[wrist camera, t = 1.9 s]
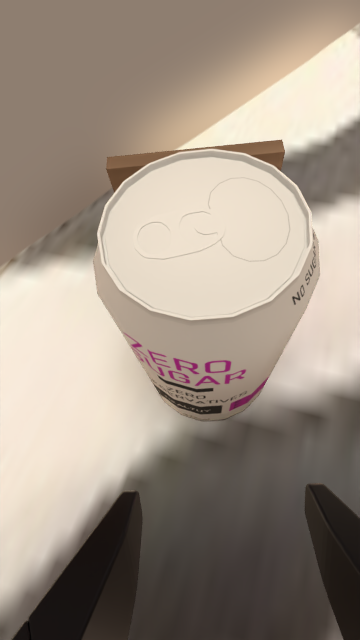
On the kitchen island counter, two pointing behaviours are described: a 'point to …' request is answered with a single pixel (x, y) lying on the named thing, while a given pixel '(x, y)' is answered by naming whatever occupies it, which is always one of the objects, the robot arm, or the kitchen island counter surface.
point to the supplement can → (207, 274)
